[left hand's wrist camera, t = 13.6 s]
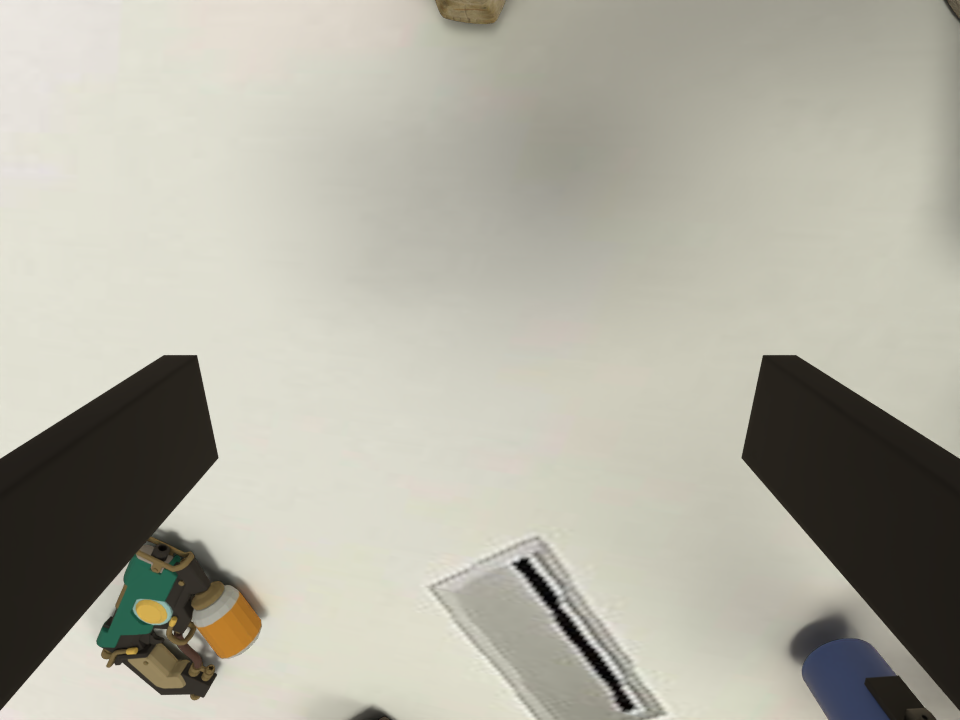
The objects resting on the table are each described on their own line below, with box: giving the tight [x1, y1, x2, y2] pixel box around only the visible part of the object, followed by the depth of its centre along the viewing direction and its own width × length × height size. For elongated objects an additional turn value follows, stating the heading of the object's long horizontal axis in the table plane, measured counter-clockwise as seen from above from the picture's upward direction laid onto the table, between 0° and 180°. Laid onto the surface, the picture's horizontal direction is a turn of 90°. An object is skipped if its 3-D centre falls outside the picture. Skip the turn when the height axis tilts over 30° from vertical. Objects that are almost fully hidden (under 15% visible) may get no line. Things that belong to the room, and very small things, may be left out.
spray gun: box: [96, 537, 262, 700], centre depth 48 cm, size 4×17×15 cm
